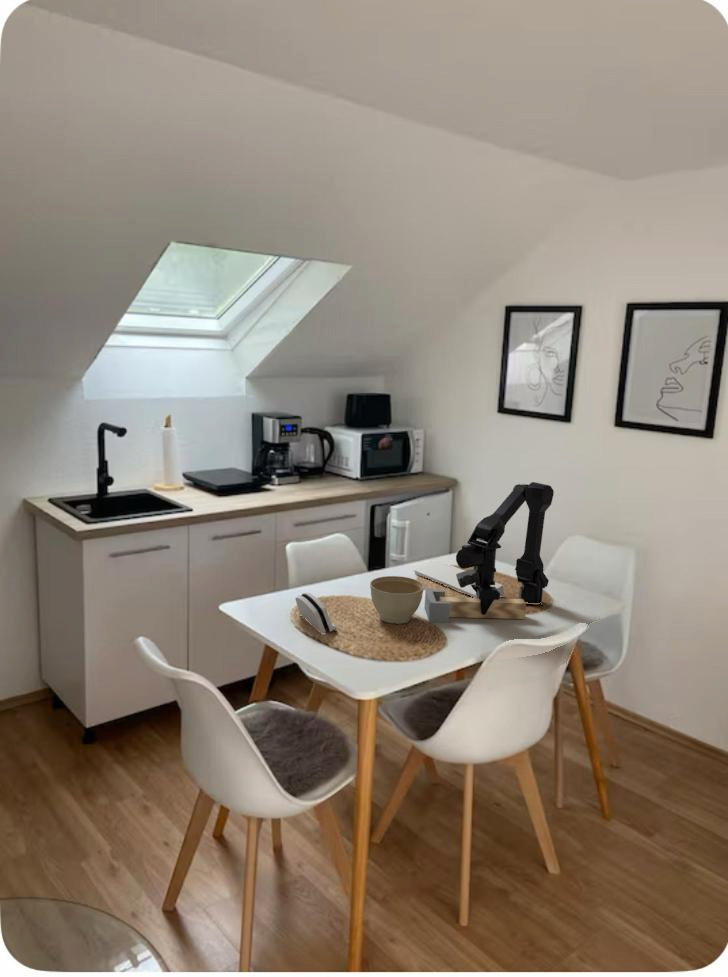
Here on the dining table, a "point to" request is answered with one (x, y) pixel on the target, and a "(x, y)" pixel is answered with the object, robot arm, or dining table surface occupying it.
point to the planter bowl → (396, 597)
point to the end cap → (436, 606)
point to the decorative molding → (448, 576)
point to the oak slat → (496, 609)
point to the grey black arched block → (314, 612)
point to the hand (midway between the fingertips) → (481, 611)
